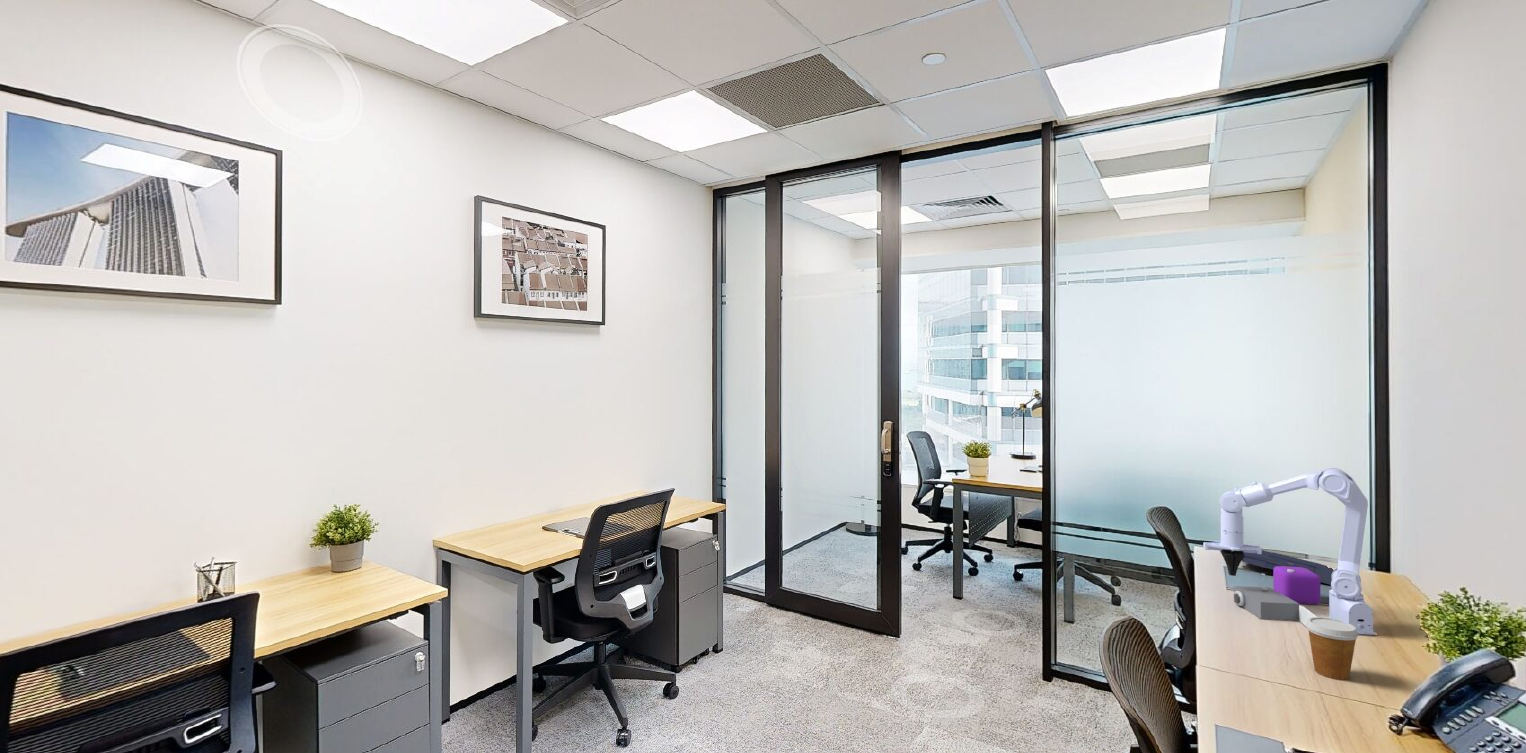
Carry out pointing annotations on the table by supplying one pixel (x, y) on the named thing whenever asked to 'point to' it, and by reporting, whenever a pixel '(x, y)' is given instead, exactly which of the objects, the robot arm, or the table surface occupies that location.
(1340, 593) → the robot arm
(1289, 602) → the grey box
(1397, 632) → the table surface
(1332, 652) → the disposable coffee cup
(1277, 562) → the dark grey slab
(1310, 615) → the side door
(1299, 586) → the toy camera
